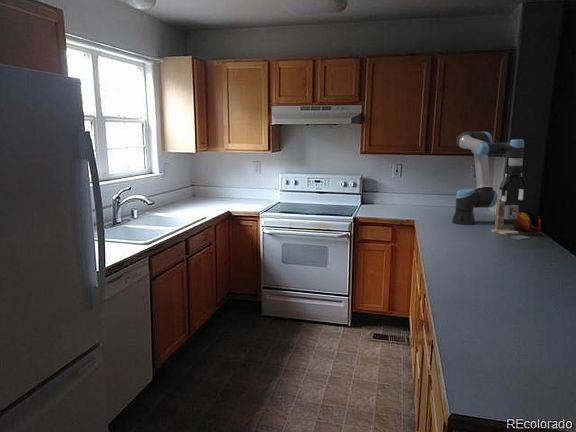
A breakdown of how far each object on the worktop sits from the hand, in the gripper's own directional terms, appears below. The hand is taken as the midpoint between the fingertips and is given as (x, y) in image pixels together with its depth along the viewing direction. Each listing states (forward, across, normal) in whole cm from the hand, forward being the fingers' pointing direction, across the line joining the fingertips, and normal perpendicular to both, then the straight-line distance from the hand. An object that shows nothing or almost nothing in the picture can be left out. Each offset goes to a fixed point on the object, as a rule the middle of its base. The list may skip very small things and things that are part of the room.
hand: (512, 200), depth 262 cm
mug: (+21, +18, +4) cm, 28 cm away
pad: (+21, -4, -11) cm, 24 cm away
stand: (+21, 0, +3) cm, 21 cm away
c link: (+11, 0, 0) cm, 11 cm away
